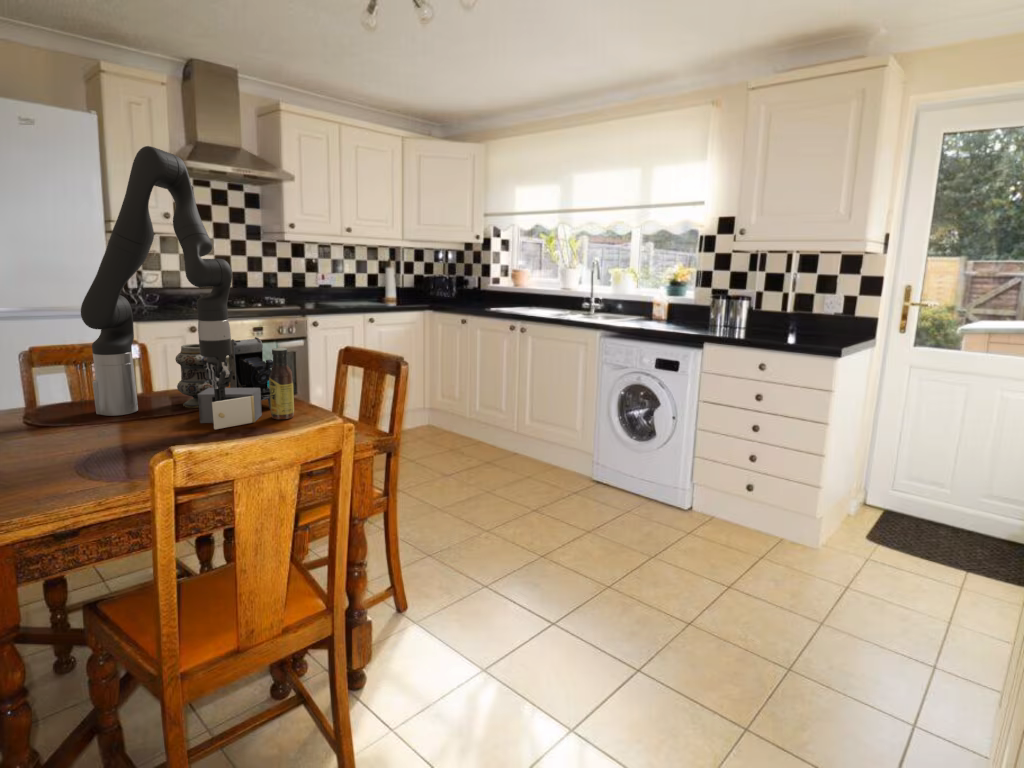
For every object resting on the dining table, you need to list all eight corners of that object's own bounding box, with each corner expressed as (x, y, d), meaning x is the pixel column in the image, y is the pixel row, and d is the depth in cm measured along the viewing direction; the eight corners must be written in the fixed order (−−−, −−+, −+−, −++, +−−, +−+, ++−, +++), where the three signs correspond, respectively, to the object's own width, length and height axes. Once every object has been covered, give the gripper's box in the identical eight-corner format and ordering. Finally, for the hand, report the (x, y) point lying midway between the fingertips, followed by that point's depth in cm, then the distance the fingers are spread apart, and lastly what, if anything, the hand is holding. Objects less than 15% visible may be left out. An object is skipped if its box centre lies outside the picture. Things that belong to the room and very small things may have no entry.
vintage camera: (257, 413, 177) (255, 346, 173) (229, 402, 186) (227, 338, 182) (286, 408, 185) (285, 343, 180) (258, 398, 194) (257, 336, 189)
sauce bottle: (270, 415, 174) (266, 347, 170) (293, 413, 177) (290, 346, 172) (271, 421, 168) (267, 350, 164) (295, 419, 171) (292, 349, 166)
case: (200, 423, 165) (197, 394, 163) (210, 415, 173) (208, 387, 171) (254, 422, 167) (252, 394, 165) (261, 414, 175) (260, 387, 173)
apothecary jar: (230, 399, 191) (225, 342, 187) (212, 409, 179) (208, 349, 175) (190, 398, 190) (185, 341, 186) (170, 408, 178) (165, 348, 174)
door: (216, 430, 158) (214, 403, 156) (213, 428, 159) (211, 402, 157) (257, 422, 165) (255, 397, 164) (254, 421, 167) (252, 395, 165)
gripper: (240, 338, 156) (245, 404, 160) (219, 333, 165) (224, 395, 168) (210, 341, 151) (216, 409, 154) (189, 335, 159) (195, 400, 163)
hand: (220, 401), depth 161 cm, fingers closed
